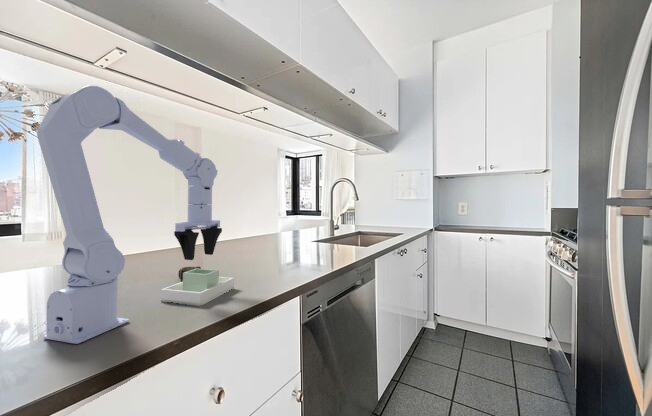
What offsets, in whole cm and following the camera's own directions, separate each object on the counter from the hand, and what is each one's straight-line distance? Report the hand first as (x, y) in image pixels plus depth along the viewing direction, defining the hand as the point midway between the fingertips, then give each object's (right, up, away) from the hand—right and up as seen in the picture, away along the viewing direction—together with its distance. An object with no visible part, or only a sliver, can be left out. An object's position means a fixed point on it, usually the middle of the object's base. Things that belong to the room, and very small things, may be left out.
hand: (199, 256), depth 72 cm
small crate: (0, -9, 0) cm, 9 cm away
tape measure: (-9, -10, +15) cm, 20 cm away
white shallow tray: (0, -10, 0) cm, 10 cm away
